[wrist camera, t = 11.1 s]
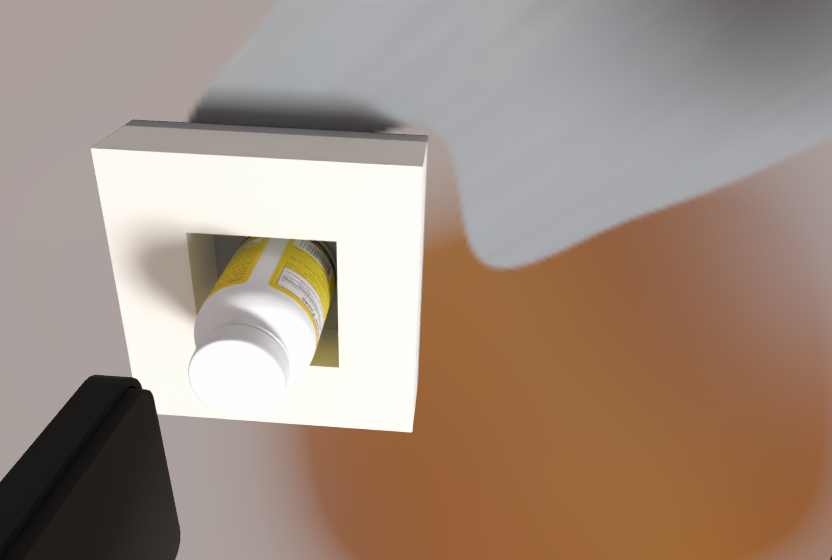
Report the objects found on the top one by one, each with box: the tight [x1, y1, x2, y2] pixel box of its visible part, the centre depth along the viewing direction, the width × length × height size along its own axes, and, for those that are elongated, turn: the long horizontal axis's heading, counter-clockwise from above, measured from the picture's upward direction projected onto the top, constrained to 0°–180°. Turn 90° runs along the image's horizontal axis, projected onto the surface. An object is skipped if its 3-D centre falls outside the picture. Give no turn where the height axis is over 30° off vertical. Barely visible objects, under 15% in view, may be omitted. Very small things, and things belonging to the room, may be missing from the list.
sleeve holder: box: [91, 120, 428, 432], centre depth 37 cm, size 15×15×4 cm
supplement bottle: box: [188, 236, 337, 418], centre depth 34 cm, size 5×5×10 cm
